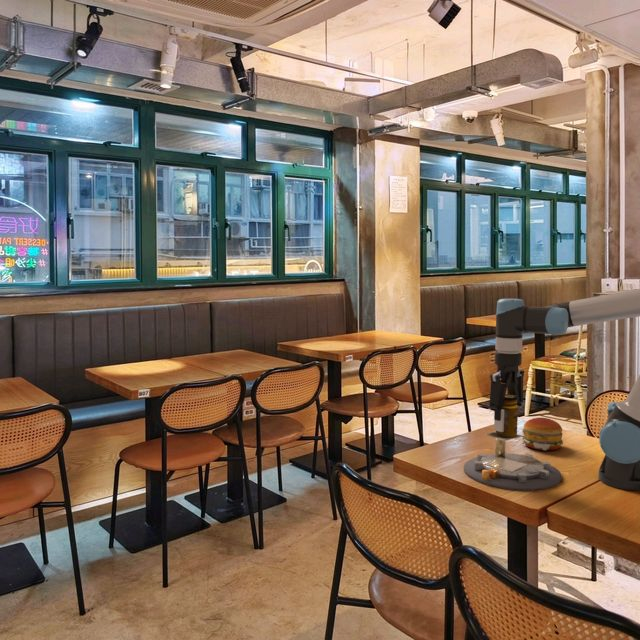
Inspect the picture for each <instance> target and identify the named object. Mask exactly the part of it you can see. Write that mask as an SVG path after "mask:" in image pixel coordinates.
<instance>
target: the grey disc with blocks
mask: <svg viewBox="0 0 640 640" xmlns="http://www.w3.org/2000/svg"><path fill="white" fill-rule="evenodd" d="M494 439H495V441H494V442H495V445H494V447H495V448H494V453H490V454H485V453H478V454H477V457H478V461H474V469H475V470H489V477H490V478H494V479H496V478H498V477H501V478H507V479H517V480H518V481H519V482H527V479H534V478H538V477H539V478H542V479H547V478H549V471H547V470H550V468H551V466H552V465H551V462H549V461H541V460H539V459H536V458H534V455H533V454H529V453H526V454H519V453H508V452H507V451H506V441H504V440H500V439H496V438H494Z"/></svg>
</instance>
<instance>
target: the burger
mask: <svg viewBox="0 0 640 640" xmlns="http://www.w3.org/2000/svg"><path fill="white" fill-rule="evenodd" d="M521 432H522V433H523V435H522V437H521V439H522V441H521V442H522V444H525V446H527V447H529V448H531V449H533V450H540V451H554V450H558V449H559V448H561V446H562V445H563V444H564V440H563V439H562V438H563V428H562V426H561V425H560V423H559V422H557V421H556V420H554V419H552V418H547V417H535V418H531V419H528V420H527V421H525V423H524V425H523V429H522V431H521Z"/></svg>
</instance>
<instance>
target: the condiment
mask: <svg viewBox="0 0 640 640" xmlns="http://www.w3.org/2000/svg"><path fill="white" fill-rule="evenodd" d="M502 409H503V410H504V432H499V431H496V430H495V432H490V433H485V435H486V436H488V437H491V438H492V439H493V438H494V439H495V438H496V439H500V440H504V441H505V442H506V441H509V440H513V439H517V438H523V437H522V436H523V435H522V434H518V419H519V418H518V415H519V406H517V397H516V396H515V395H509V393H508V394H507V393H506V394H505V399H504V404H503V408H502Z"/></svg>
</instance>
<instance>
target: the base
mask: <svg viewBox="0 0 640 640" xmlns="http://www.w3.org/2000/svg"><path fill="white" fill-rule="evenodd" d="M474 461H478V456H477V457H474V458H473V457H472V458H471V459H469V460H467V461H465V463H464V465H463V471H464V473H465V475H466V476H467V477H469V478H470V479H471V480H474V481H476V482H477V483H480V484H483V485H486V486H489V487H494V488H498V489H502V490H503V489H505V490H513V491H540V490H547V488H548V489H551V488H554V487H556V486H558V485H559V484H560V483H561V482H562V478H563V477H562V473H561V471H560V470H559V469H557V467H555V466H553V465H551V468H550V470H547V471H549V478H547V479H542V478H539V477H538V478H534V479H527V482H519V481H518V480H517V479H507V478H501V477H498V478H496V479H494V478H490V477H489V470H475V469H474ZM560 481H561V482H560ZM557 484H558V485H557Z"/></svg>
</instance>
